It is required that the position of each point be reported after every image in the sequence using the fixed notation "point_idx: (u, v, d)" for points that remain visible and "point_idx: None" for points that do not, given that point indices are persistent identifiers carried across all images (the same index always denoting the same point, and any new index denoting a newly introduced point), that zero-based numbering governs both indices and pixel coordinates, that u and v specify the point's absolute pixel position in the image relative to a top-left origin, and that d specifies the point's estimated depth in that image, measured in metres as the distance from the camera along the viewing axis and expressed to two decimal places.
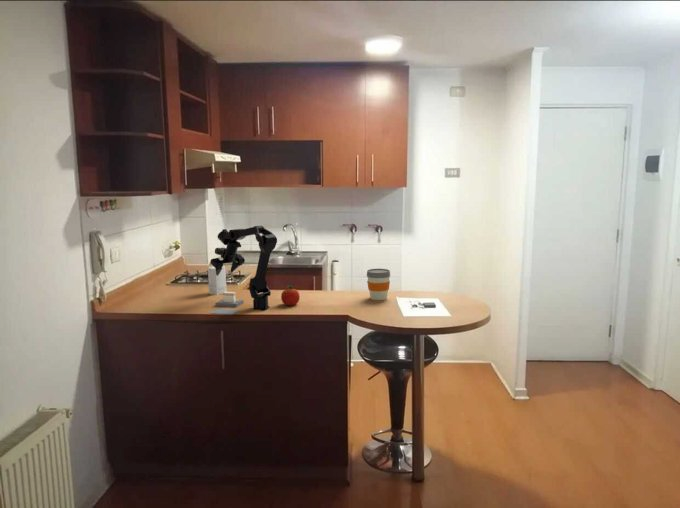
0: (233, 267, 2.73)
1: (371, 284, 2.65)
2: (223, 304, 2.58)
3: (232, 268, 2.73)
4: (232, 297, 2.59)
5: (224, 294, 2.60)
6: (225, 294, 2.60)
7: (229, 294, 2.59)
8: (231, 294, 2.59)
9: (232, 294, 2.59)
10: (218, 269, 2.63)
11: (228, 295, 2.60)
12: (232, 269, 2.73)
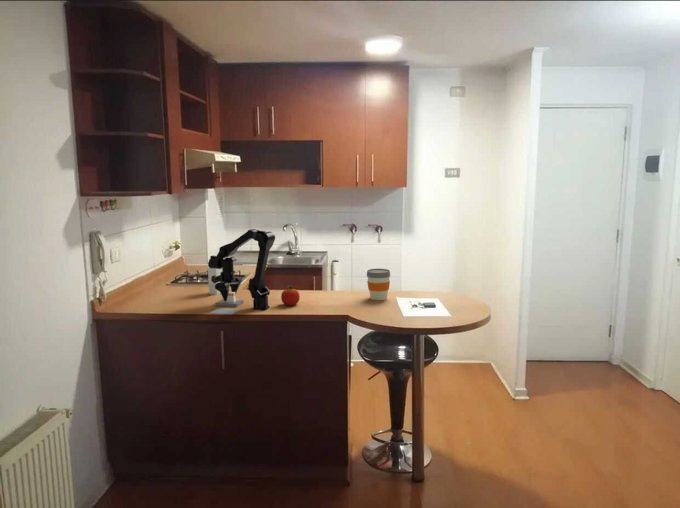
0: (234, 290, 2.64)
1: (371, 284, 2.65)
2: (223, 304, 2.58)
3: None
4: (232, 297, 2.59)
5: None
6: None
7: (229, 294, 2.59)
8: (231, 294, 2.59)
9: (232, 294, 2.59)
10: (226, 291, 2.53)
11: (228, 295, 2.60)
12: None
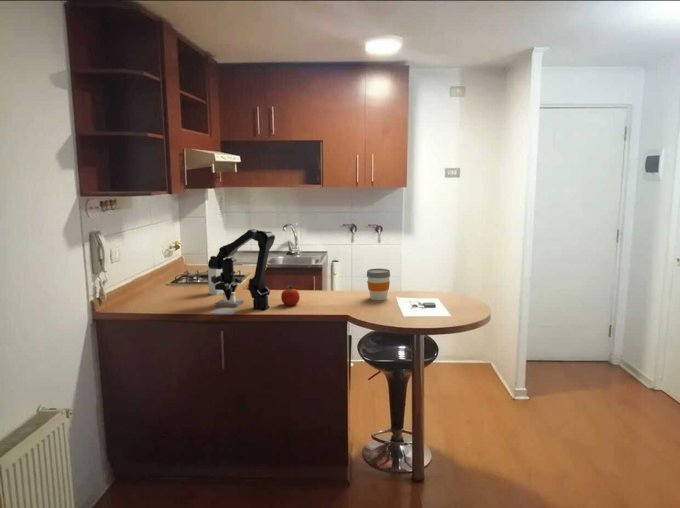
0: None
1: (371, 284, 2.65)
2: (223, 304, 2.58)
3: None
4: (232, 297, 2.59)
5: (224, 294, 2.60)
6: None
7: None
8: (231, 294, 2.59)
9: (232, 294, 2.59)
10: (229, 290, 2.57)
11: None
12: None
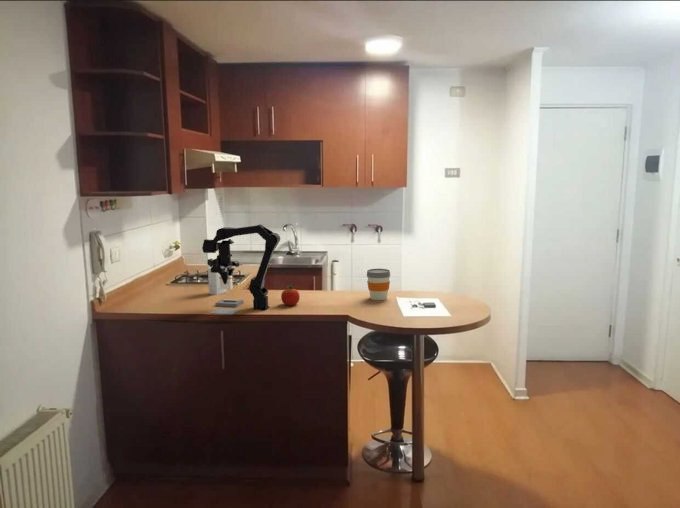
0: (228, 275, 2.54)
1: (371, 284, 2.65)
2: (223, 304, 2.58)
3: None
4: (229, 281, 2.51)
5: (221, 278, 2.53)
6: None
7: None
8: (228, 278, 2.51)
9: (229, 278, 2.51)
10: (225, 274, 2.49)
11: None
12: None
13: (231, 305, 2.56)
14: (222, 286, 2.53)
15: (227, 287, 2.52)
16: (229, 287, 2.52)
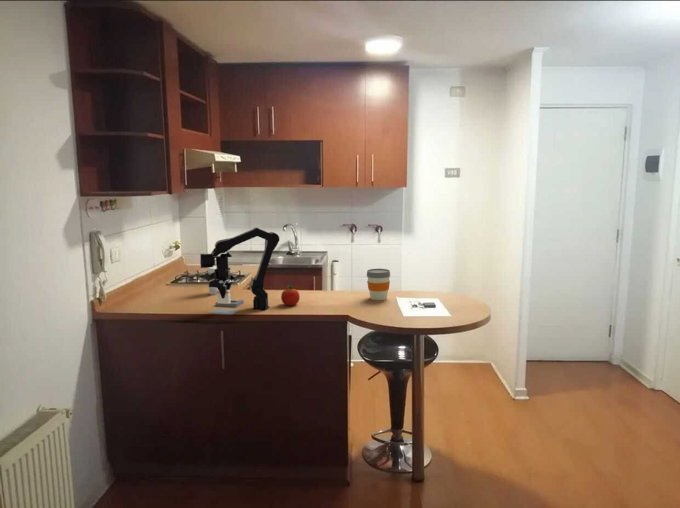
0: (226, 289, 2.47)
1: (371, 284, 2.65)
2: (223, 304, 2.58)
3: None
4: (227, 295, 2.45)
5: (218, 292, 2.46)
6: (219, 292, 2.46)
7: None
8: (226, 292, 2.45)
9: (227, 292, 2.45)
10: (224, 288, 2.43)
11: None
12: None
13: (231, 305, 2.56)
14: (220, 301, 2.46)
15: (225, 302, 2.46)
16: (227, 302, 2.45)
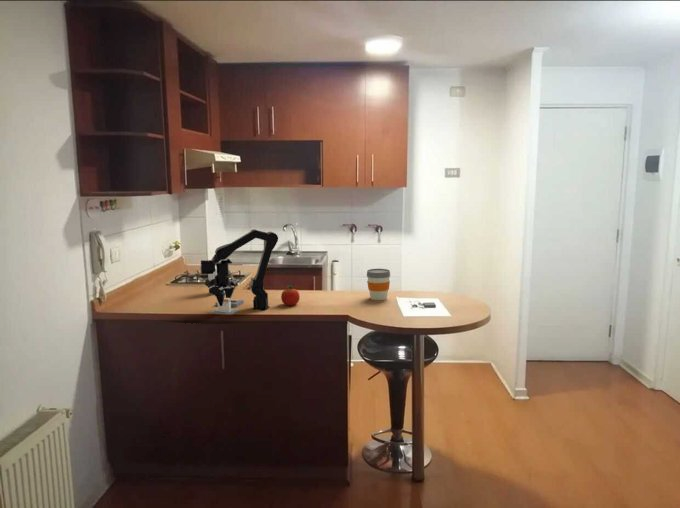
0: (228, 295, 2.50)
1: (371, 284, 2.65)
2: None
3: (228, 296, 2.50)
4: (227, 303, 2.46)
5: None
6: None
7: (224, 300, 2.46)
8: (226, 300, 2.45)
9: (227, 300, 2.45)
10: (221, 296, 2.41)
11: None
12: (228, 297, 2.50)
13: (231, 305, 2.56)
14: (220, 309, 2.47)
15: (225, 310, 2.46)
16: (227, 310, 2.46)
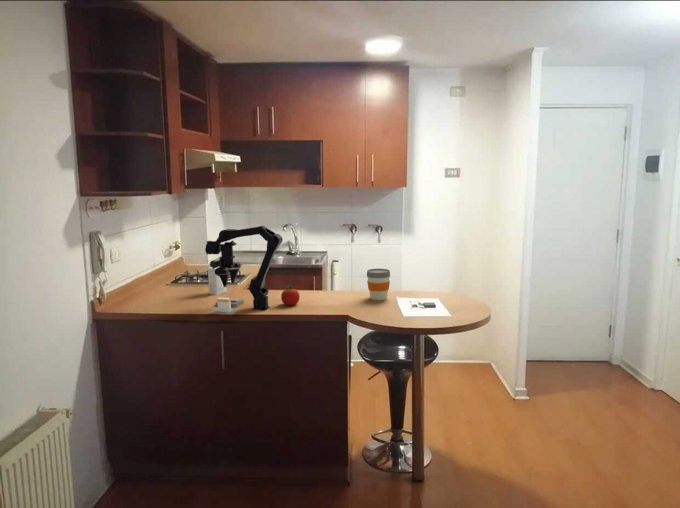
0: (233, 275, 2.58)
1: (371, 284, 2.65)
2: None
3: (232, 277, 2.58)
4: (227, 303, 2.46)
5: (219, 300, 2.46)
6: (220, 300, 2.46)
7: (224, 300, 2.46)
8: (226, 300, 2.45)
9: (227, 300, 2.45)
10: (226, 276, 2.47)
11: (222, 301, 2.46)
12: (233, 278, 2.58)
13: (231, 305, 2.56)
14: (220, 309, 2.47)
15: (225, 310, 2.46)
16: (227, 310, 2.46)
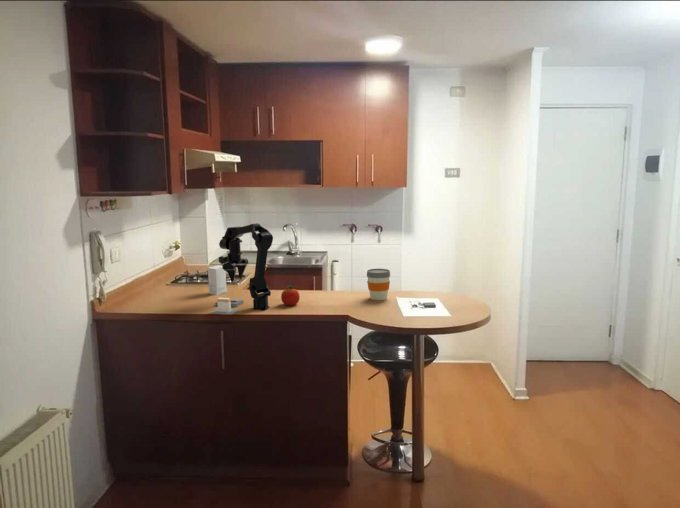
0: (241, 271, 2.69)
1: (371, 284, 2.65)
2: None
3: (240, 273, 2.70)
4: (227, 303, 2.46)
5: (219, 300, 2.46)
6: (220, 300, 2.46)
7: (224, 300, 2.46)
8: (226, 300, 2.45)
9: (227, 300, 2.45)
10: (233, 272, 2.58)
11: (222, 301, 2.46)
12: (240, 274, 2.70)
13: (231, 305, 2.56)
14: (220, 309, 2.47)
15: (225, 310, 2.46)
16: (227, 310, 2.46)
